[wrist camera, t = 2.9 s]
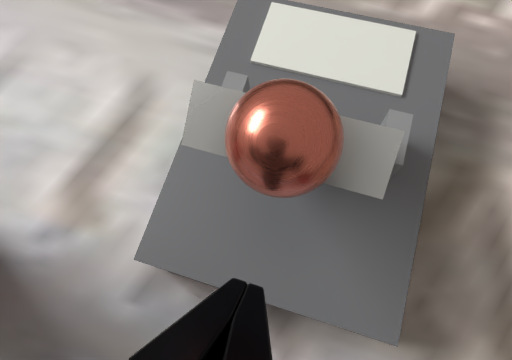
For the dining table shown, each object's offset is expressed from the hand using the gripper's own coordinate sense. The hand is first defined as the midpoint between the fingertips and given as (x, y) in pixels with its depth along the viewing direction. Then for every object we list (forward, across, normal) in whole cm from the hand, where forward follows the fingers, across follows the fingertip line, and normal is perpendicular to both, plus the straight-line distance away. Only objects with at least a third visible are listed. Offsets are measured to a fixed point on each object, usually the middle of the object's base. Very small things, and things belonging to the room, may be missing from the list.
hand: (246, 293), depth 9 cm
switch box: (+13, 0, +2) cm, 13 cm away
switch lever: (+10, 0, -1) cm, 10 cm away
